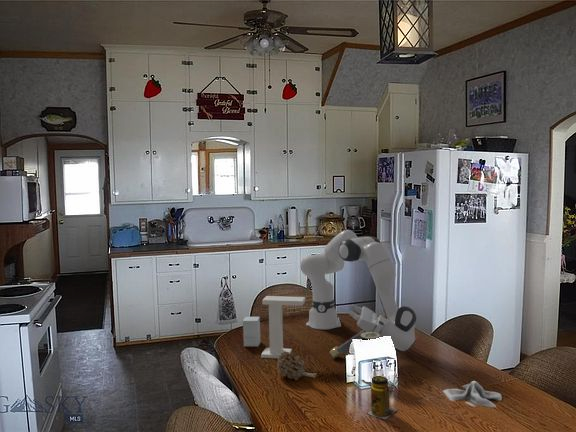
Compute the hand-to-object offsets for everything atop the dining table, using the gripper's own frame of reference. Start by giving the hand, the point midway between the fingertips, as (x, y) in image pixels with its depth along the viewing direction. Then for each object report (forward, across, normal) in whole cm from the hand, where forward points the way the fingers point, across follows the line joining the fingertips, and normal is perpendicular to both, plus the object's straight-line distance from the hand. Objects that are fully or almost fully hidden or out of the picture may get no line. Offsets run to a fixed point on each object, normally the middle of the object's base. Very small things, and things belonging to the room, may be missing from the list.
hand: (350, 309), depth 220 cm
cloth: (-52, +32, -4) cm, 62 cm away
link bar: (-8, 0, +14) cm, 16 cm away
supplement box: (+31, -12, +44) cm, 55 cm away
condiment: (-24, +49, +12) cm, 55 cm away
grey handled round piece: (+5, +27, +28) cm, 39 cm away
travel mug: (-19, +22, +14) cm, 32 cm away
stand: (+14, 0, +34) cm, 37 cm away
